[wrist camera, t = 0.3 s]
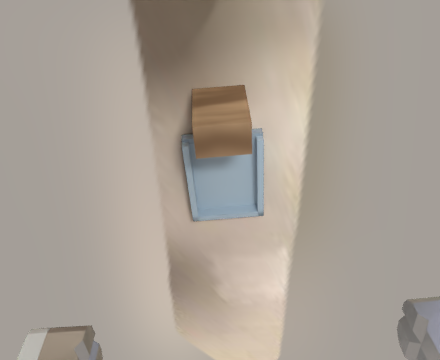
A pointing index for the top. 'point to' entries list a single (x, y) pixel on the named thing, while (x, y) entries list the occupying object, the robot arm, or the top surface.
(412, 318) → the robot arm
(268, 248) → the top surface
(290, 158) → the top surface
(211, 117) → the wooden block
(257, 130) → the tray
